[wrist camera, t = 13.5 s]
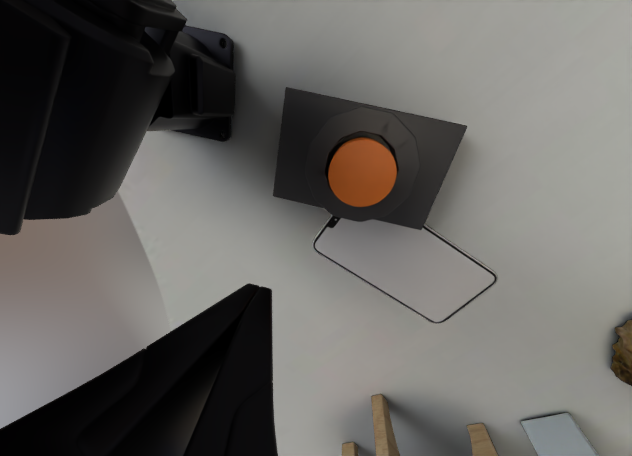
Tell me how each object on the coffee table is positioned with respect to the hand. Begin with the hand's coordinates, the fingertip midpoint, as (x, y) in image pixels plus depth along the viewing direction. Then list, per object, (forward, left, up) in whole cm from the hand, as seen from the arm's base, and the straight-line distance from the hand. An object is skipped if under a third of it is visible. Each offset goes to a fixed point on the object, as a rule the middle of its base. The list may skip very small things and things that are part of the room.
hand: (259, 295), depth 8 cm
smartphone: (+9, -4, -13) cm, 16 cm away
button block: (+3, +4, -12) cm, 13 cm away
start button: (+3, +3, -8) cm, 10 cm away
